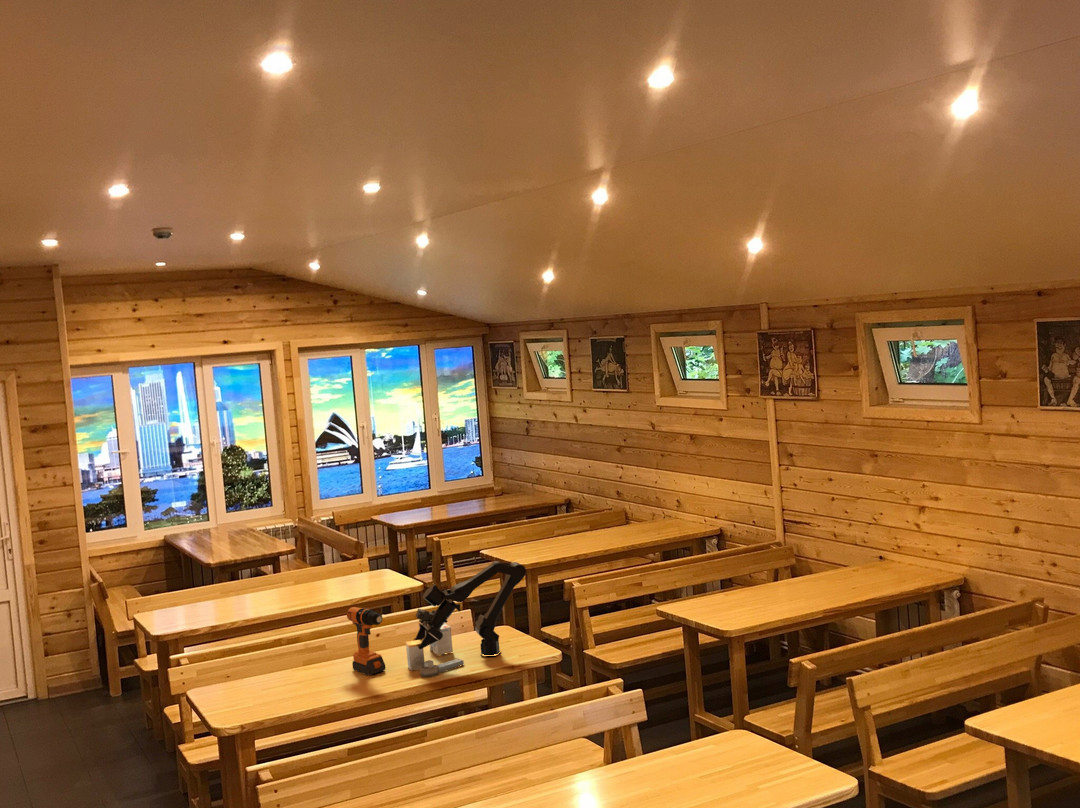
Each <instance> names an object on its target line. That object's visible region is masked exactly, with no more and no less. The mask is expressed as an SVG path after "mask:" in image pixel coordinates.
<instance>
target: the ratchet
mask: <svg viewBox="0 0 1080 808" xmlns="http://www.w3.org/2000/svg"><path fill="white" fill-rule="evenodd" d="M424 661H425V662H424V665H425V666H423V667H421V668H420V670H419V671H420V677H422V678H434V677H436V676H439V674H441V673H443V672H444V673H445V672H447V671H446V670H448V671H450V670H449V669H451V670H453V669H452V668H454V669H456V668H455V667H457V668H459V667H458V666H460V665H463V664H464V665H465V663H464V662H465V661H464V659H462V658H461V659H460V658H455V659H452V660H449V661H446V662H442V663H439V664H435V663H434V660H431V659H428V660H424ZM464 665H463V666H464ZM460 667H461V666H460Z"/></svg>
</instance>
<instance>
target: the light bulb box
mask: <svg viewBox="0 0 1080 808" xmlns="http://www.w3.org/2000/svg"><path fill="white" fill-rule="evenodd" d="M440 629H441V630H440V631H441V632H442V633H443V637H442V639H441V640H438V639H437V640H438V641H436V642H434V643H432V644H430V645H429V651H431V652H432V651H433V652H434V653H433V652H432V653H433V654H435V655H436V654H437V655H441V654H445V653H449V652H453V653H454V650H453V639H452V637H453V635H452V627H451V626H450V625H448V624H447V623H444V624H443V625H442V627H441V628H440ZM437 655H436V656H437ZM441 656H442V655H441Z"/></svg>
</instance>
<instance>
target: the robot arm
mask: <svg viewBox="0 0 1080 808" xmlns="http://www.w3.org/2000/svg"><path fill="white" fill-rule="evenodd" d="M498 573H500V574H503V575H504V576H505V577H504V581H503V582H502V583H503V584H502V585H501V587H500V589H499V591H498V592H497V594H496V596H495V598H494V599H493V601H492V603H491V605H490V606H489V609H488V610H487V611H486V613H485V614H483V615H482V614H479V616H478V618H477V620H476V621H475V622H474V623H475V627H474V629H475V632H476V633H477V635H479V636H480V638H482V639H481V640H480V641H481V643H480V645H479V646H480V654H481V655H482V654H484V655H494V654H498V653H499V652H500V651H501V649H500V641H499V639H500V635H499V634H498V633H497V632H495V628H496V624H497V619H498V617H499V615H500V613H501V611H502V610H503V607H504V606H505V604H506V602H507V601H508V599H509V597H510V595H511V594H512V591H514V588H515V587H516V586H517V585H518V584H519V583H521V581H522V580H523V579H524V577H526V575H527V569H526V567H525V565H523V564H521V563H519V562H517V561H513V562H511V563H510V562H503V561H502V562H501V561H498V560H494V561H492V562H491V564H489V565H487V566H486V567H485V568H483V569H482V570H480V571H479V572H477V573H476V574H474V576H472V577H470V578H469V579H467V580H465V581H461V582H459V583H457V584H455V585H453V586H452V587H450V588H449V589H445V590H441V589H440V588H439V587H438V586H437V585H436V583H435V584H433V585H432V586H430V587H429V588H427V589H426V590H425V592H424V593H423V595H422V598H423V599H424V600H425V601H426V602H427V603H429V604H430V605H431V606H433V607H436V606H437V608H436V609H433V610H431V611H429V610H426V609H425V610H424V609H421V608H417V611H416V613H415V617H416V619H418V627H419V628H418V631H417V634H416V636H415V639H414V640H421V641H422V642H421V644H420V646H419V647H418V648H419V649H423V650H424V649H425V648H426V647H428V646H430V644H432V643H434V642H436V641H438V640H441V639H442V637H443V633H442V632H441V631H440V630H441V629H440V628H441V627H442V625H443V624H444V623H445V624H447V623H448V619H449V618H450V616H451V615H452V614H453V613H454V611H455V610H456V611H458V612H460V613H461V611H462V610H461V604H460V603H462V602H465V600H466V599H468V598H469V596H471V594H472V593H473V591H474V590H476V589H477V588H478V587H480V586H481V585H483V584H485V583H486V582H487V581H488V580H490V579H492V578H493V577H494V576H496V575H498ZM456 602H457V603H456ZM437 639H438V640H437Z"/></svg>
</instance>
